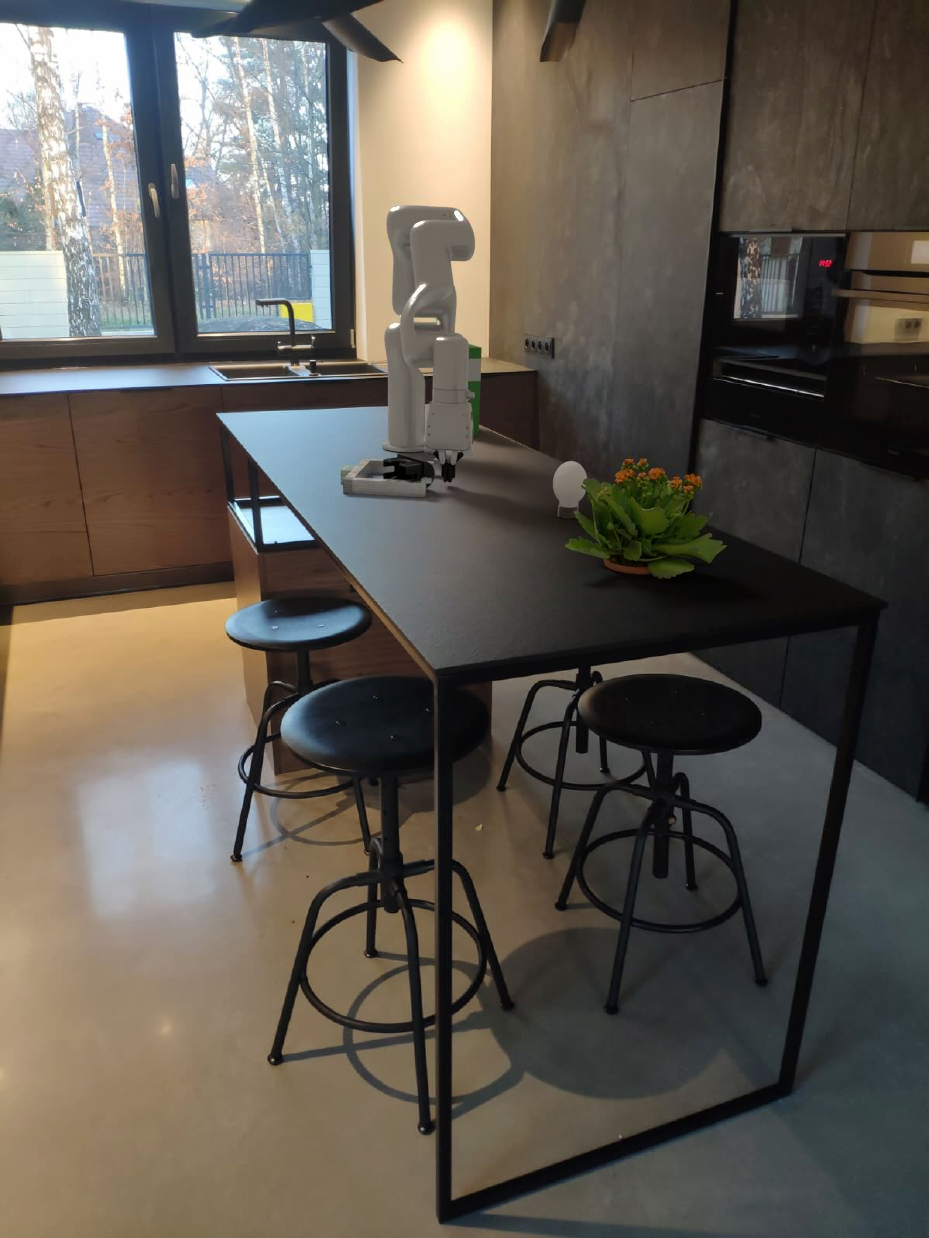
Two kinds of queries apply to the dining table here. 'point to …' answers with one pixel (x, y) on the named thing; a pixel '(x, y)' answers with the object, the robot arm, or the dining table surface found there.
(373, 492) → the mounting bracket
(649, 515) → the potted flower
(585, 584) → the dining table surface
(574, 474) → the light bulb
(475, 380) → the green white box
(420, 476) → the end cap
